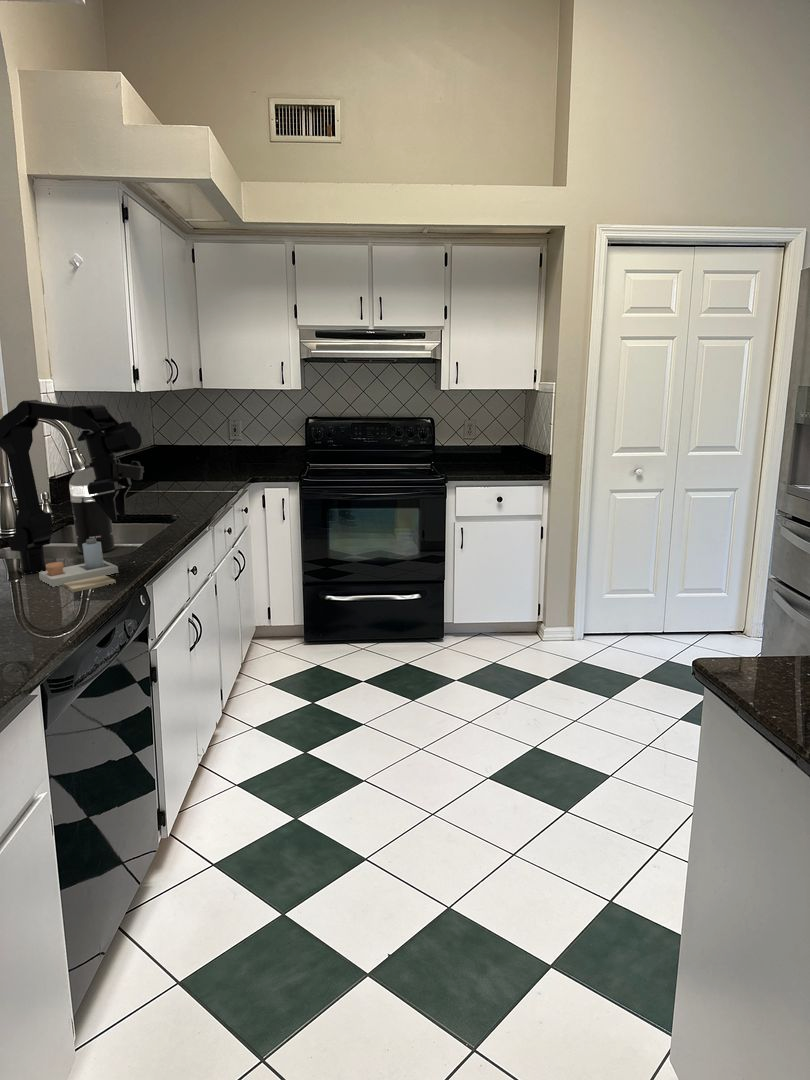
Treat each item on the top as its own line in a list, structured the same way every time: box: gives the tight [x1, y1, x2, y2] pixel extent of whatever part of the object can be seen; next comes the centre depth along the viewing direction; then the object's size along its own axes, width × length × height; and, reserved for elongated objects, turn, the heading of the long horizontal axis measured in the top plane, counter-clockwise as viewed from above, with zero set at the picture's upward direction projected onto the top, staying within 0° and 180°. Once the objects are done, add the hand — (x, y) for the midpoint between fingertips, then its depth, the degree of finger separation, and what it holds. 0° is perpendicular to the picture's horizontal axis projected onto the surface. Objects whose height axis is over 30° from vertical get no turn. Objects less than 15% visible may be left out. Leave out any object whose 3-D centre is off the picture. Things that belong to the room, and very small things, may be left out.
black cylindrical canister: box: [68, 464, 115, 554], centre depth 216 cm, size 10×10×25 cm
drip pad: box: [62, 575, 117, 593], centre depth 182 cm, size 7×10×1 cm
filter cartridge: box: [82, 539, 104, 570], centre depth 192 cm, size 4×4×9 cm
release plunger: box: [45, 561, 65, 576], centre depth 186 cm, size 4×4×3 cm
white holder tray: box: [38, 559, 119, 588], centre depth 190 cm, size 10×16×2 cm, turn 132°
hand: (118, 518), depth 186 cm, fingers open, 9 cm apart
